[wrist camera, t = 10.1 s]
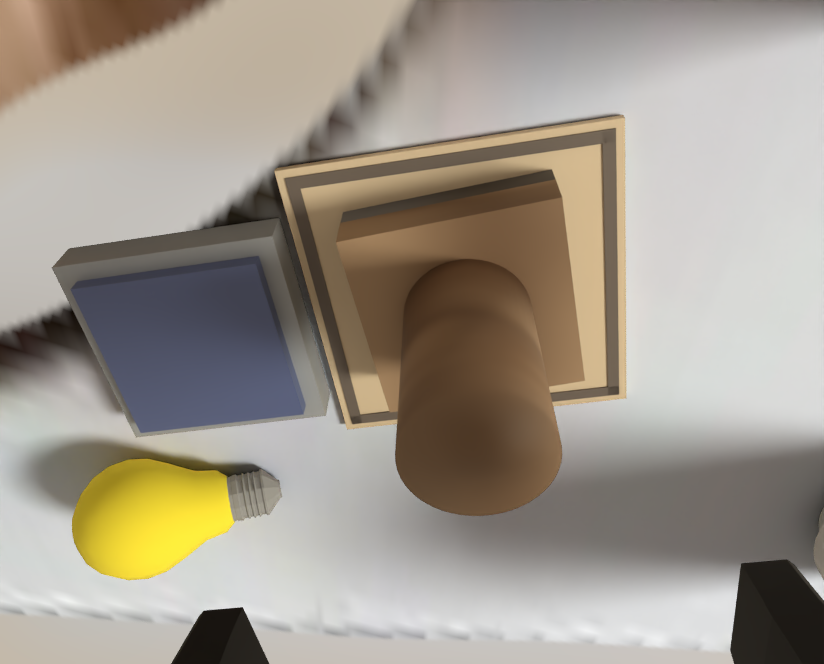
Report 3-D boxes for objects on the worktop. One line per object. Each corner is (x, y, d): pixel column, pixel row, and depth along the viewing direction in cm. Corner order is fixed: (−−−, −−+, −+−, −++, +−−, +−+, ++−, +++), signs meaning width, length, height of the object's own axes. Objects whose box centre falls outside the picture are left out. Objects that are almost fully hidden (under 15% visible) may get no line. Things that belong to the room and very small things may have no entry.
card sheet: (348, 424, 22) (347, 430, 21) (275, 167, 17) (274, 172, 17) (624, 393, 21) (626, 399, 20) (623, 115, 16) (625, 118, 16)
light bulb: (72, 455, 23) (45, 509, 19) (268, 417, 24) (274, 462, 20) (98, 551, 24) (76, 619, 20) (285, 510, 25) (294, 567, 21)
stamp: (392, 375, 20) (378, 565, 15) (342, 211, 18) (304, 373, 12) (574, 344, 20) (627, 531, 14) (552, 168, 17) (607, 319, 12)
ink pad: (147, 414, 22) (131, 447, 20) (68, 248, 19) (44, 275, 17) (329, 392, 21) (324, 425, 20) (279, 217, 18) (268, 244, 17)
